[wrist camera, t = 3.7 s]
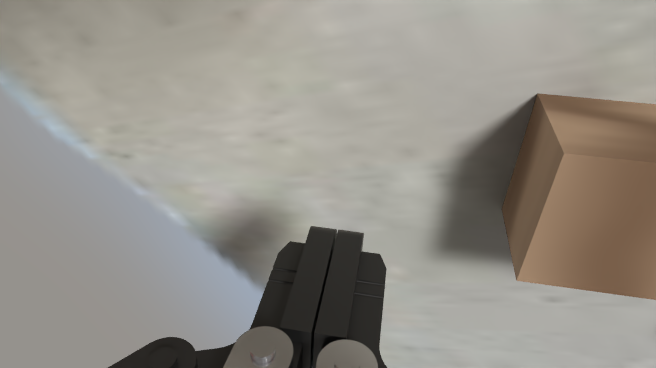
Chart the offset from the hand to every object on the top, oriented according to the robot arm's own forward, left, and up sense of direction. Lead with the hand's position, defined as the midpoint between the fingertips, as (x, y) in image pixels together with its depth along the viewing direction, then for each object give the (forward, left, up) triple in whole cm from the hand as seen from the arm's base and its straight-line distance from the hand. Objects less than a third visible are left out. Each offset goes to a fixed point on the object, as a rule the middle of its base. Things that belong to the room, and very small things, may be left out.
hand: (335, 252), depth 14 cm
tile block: (+6, +5, -6) cm, 10 cm away
